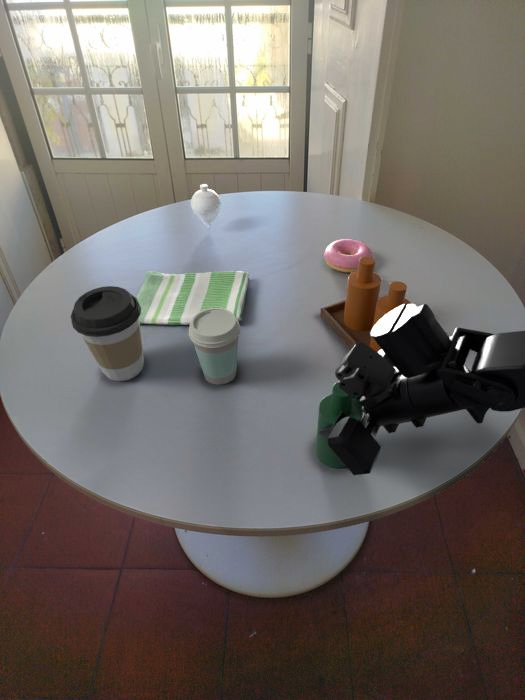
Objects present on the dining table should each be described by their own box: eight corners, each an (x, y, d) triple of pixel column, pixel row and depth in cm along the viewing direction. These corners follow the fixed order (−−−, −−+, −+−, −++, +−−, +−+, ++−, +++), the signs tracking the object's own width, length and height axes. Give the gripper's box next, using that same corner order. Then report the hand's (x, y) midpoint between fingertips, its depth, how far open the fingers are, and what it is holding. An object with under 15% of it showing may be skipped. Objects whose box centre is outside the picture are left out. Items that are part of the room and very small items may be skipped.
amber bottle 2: (408, 346, 87) (423, 284, 78) (392, 364, 84) (406, 301, 74) (379, 333, 90) (390, 271, 81) (363, 350, 87) (372, 287, 77)
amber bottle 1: (379, 319, 93) (390, 258, 84) (364, 335, 90) (373, 273, 81) (354, 308, 96) (361, 248, 87) (337, 322, 93) (343, 262, 84)
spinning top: (194, 223, 127) (188, 180, 119) (222, 221, 127) (218, 177, 119) (194, 237, 121) (187, 192, 113) (223, 235, 122) (219, 190, 114)
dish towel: (149, 277, 108) (147, 267, 106) (250, 278, 106) (249, 268, 105) (127, 326, 95) (124, 315, 93) (241, 329, 93) (240, 318, 91)
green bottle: (363, 449, 71) (375, 386, 62) (341, 475, 68) (350, 413, 59) (330, 429, 74) (336, 366, 65) (307, 453, 71) (311, 391, 62)
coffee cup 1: (114, 341, 92) (93, 277, 82) (166, 354, 89) (150, 288, 78) (79, 381, 84) (51, 316, 74) (134, 396, 81) (112, 330, 71)
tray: (460, 388, 80) (463, 380, 78) (406, 411, 76) (409, 402, 75) (366, 300, 99) (367, 292, 98) (320, 315, 96) (320, 307, 94)
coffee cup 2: (227, 350, 89) (221, 299, 81) (253, 376, 83) (249, 324, 75) (187, 370, 85) (177, 318, 77) (212, 398, 80) (203, 345, 72)
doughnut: (315, 256, 112) (316, 241, 110) (356, 246, 115) (358, 231, 112) (337, 280, 105) (338, 264, 102) (379, 269, 108) (382, 253, 105)
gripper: (407, 299, 59) (323, 337, 71) (351, 395, 48) (261, 423, 59) (456, 364, 62) (366, 391, 73) (413, 471, 50) (315, 483, 62)
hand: (330, 418), depth 67 cm, fingers closed on green bottle, 6 cm apart
